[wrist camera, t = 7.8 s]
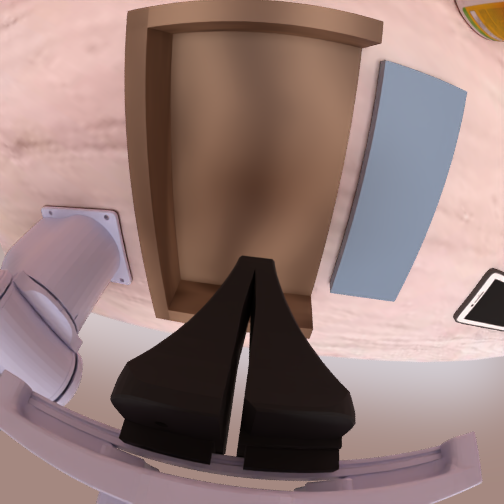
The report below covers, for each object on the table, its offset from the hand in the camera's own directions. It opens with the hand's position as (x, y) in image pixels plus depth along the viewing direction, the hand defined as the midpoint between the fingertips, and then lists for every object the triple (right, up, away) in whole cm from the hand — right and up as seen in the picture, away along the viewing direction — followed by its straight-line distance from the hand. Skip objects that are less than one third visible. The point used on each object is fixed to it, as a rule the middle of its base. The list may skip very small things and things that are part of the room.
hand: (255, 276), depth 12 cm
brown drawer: (0, +6, +7) cm, 10 cm away
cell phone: (+30, -5, +12) cm, 33 cm away
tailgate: (+7, +6, +7) cm, 11 cm away
